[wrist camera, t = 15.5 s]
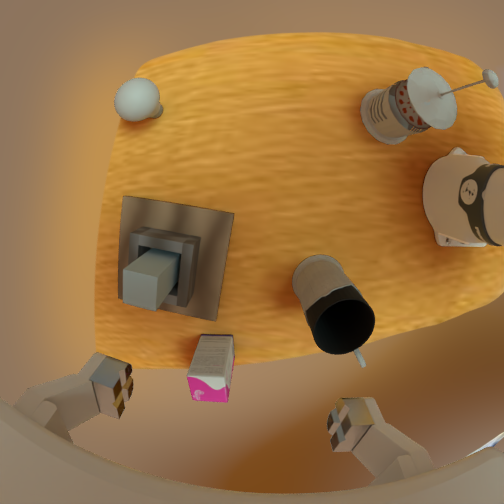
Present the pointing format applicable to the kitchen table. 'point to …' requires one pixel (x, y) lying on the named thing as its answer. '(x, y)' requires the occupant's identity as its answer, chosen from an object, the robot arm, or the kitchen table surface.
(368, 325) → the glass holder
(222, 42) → the kitchen table surface
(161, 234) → the socket
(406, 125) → the french press
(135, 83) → the lightbulb
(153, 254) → the peg
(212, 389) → the supplement box
